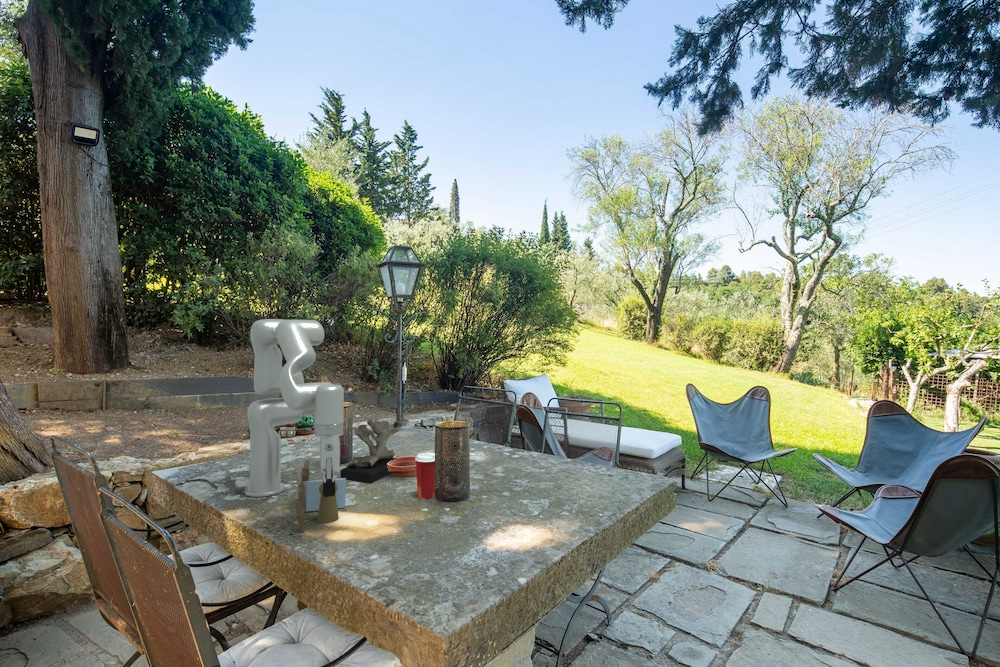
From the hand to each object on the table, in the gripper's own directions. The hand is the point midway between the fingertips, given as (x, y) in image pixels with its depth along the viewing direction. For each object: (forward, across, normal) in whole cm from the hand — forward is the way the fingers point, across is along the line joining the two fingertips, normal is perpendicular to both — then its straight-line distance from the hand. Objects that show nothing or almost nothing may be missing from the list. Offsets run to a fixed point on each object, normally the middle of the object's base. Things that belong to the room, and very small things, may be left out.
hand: (329, 495), depth 133 cm
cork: (+10, +9, 0) cm, 14 cm away
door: (+9, +17, +2) cm, 19 cm away
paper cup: (+10, +21, -31) cm, 38 cm away
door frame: (+10, +15, +7) cm, 19 cm away
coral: (+10, +51, -18) cm, 55 cm away
